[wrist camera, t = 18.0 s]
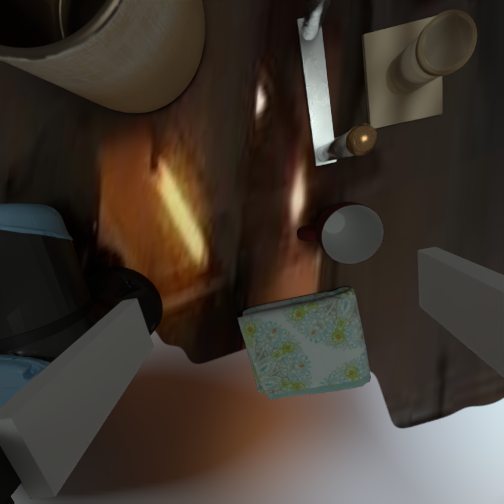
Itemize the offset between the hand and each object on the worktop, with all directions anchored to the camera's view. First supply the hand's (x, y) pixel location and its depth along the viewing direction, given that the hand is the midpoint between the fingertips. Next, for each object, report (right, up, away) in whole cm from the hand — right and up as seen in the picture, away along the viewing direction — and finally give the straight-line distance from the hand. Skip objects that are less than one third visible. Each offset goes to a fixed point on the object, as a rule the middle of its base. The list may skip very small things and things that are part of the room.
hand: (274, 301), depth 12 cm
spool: (+20, +27, +24) cm, 42 cm away
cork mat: (+20, +27, +25) cm, 42 cm away
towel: (+9, -14, +38) cm, 42 cm away
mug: (+11, +7, +32) cm, 34 cm away
